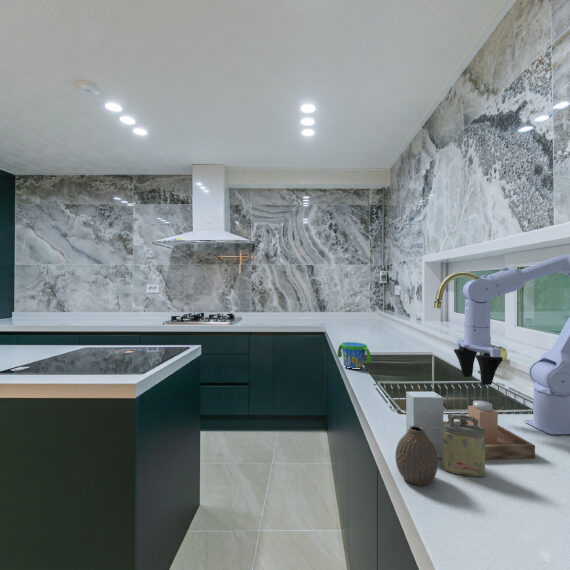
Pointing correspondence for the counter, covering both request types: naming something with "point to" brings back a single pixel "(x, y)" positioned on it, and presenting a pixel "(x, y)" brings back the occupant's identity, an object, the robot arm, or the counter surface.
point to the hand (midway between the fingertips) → (476, 380)
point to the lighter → (464, 446)
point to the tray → (507, 446)
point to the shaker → (485, 420)
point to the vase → (416, 457)
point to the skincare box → (426, 416)
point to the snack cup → (354, 354)
